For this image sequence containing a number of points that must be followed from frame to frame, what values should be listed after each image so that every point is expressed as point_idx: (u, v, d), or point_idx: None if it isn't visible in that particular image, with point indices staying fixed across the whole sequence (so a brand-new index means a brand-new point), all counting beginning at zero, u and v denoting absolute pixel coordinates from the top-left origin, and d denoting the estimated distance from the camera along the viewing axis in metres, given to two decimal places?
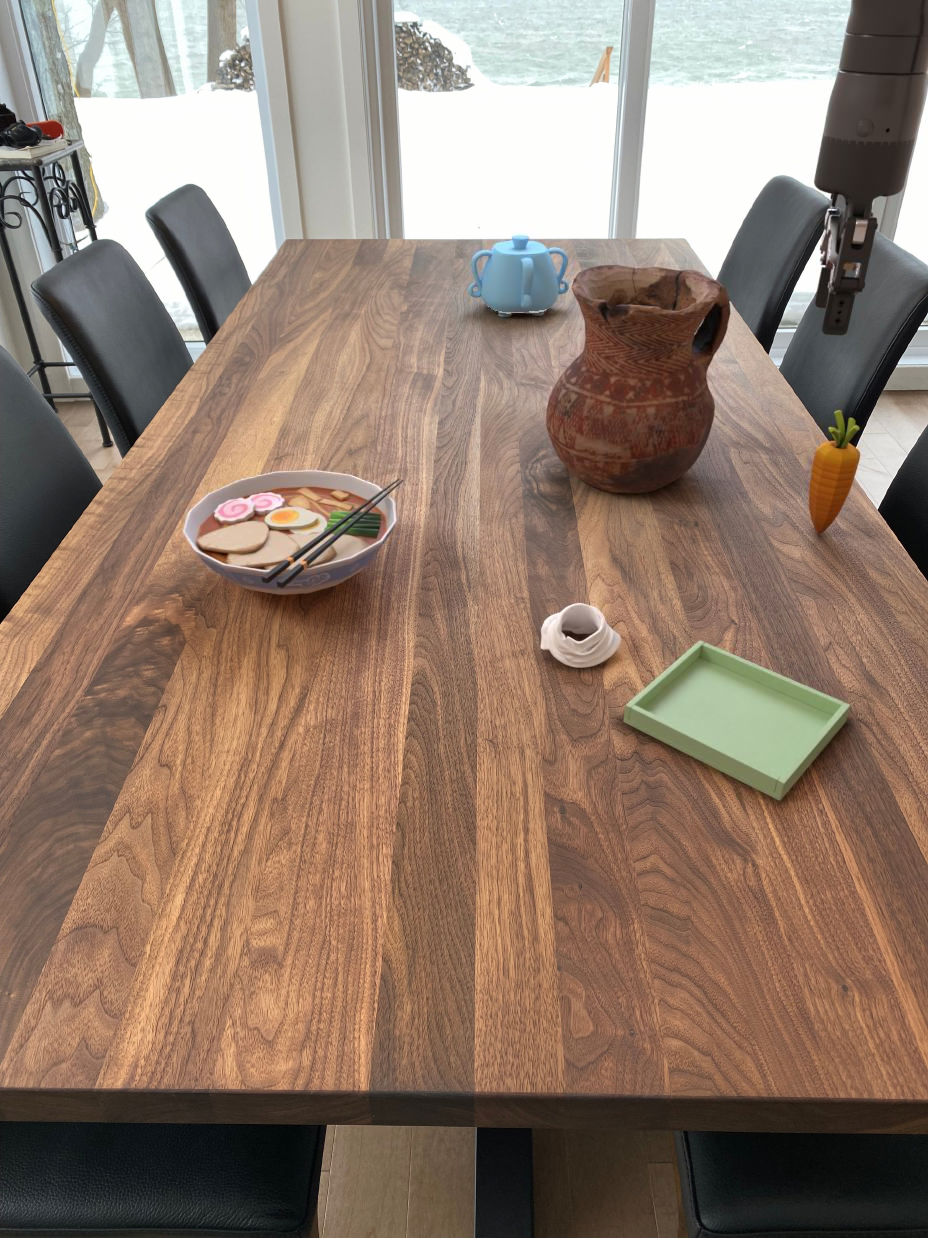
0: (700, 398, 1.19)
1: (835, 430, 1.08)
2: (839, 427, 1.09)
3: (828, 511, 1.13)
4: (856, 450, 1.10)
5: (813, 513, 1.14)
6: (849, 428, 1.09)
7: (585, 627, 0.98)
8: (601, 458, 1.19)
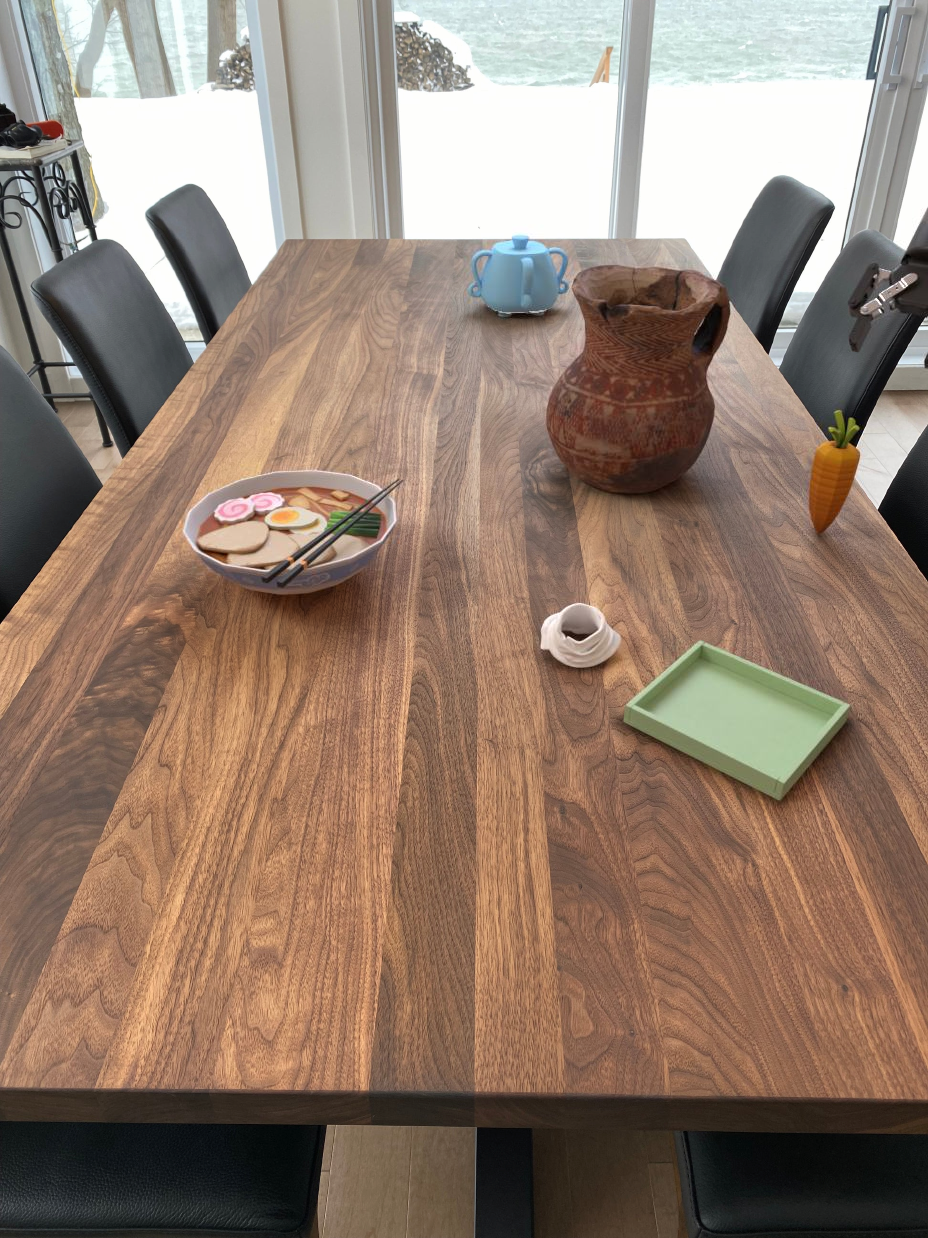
0: (700, 398, 1.19)
1: (835, 430, 1.08)
2: (839, 427, 1.09)
3: (828, 511, 1.13)
4: (856, 450, 1.10)
5: (813, 513, 1.14)
6: (849, 428, 1.09)
7: (585, 627, 0.98)
8: (601, 458, 1.19)
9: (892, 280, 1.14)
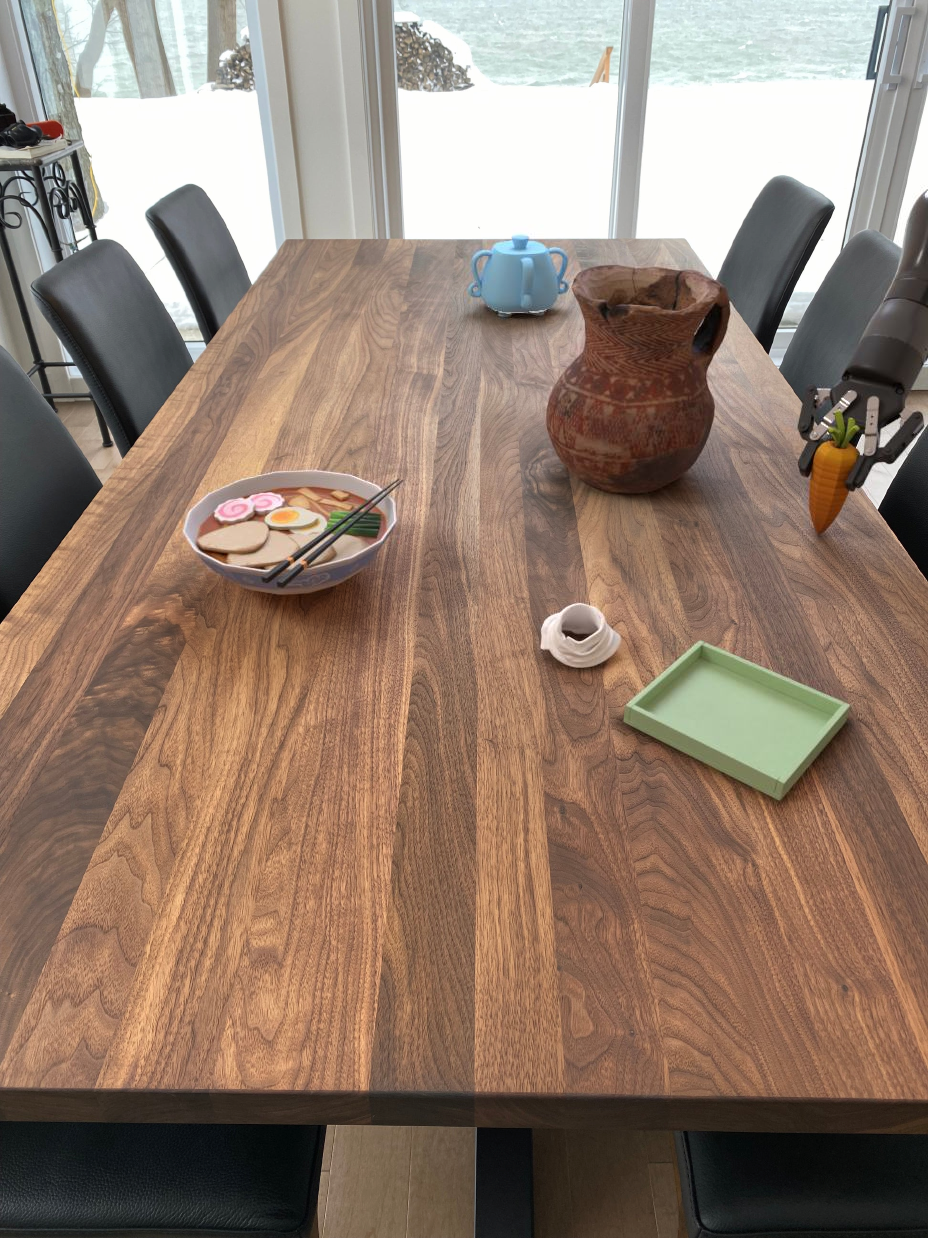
0: (700, 398, 1.19)
1: (835, 430, 1.08)
2: (839, 427, 1.09)
3: (828, 511, 1.13)
4: (856, 450, 1.10)
5: (813, 513, 1.14)
6: (849, 428, 1.09)
7: (585, 627, 0.98)
8: (601, 458, 1.19)
9: (832, 396, 1.12)
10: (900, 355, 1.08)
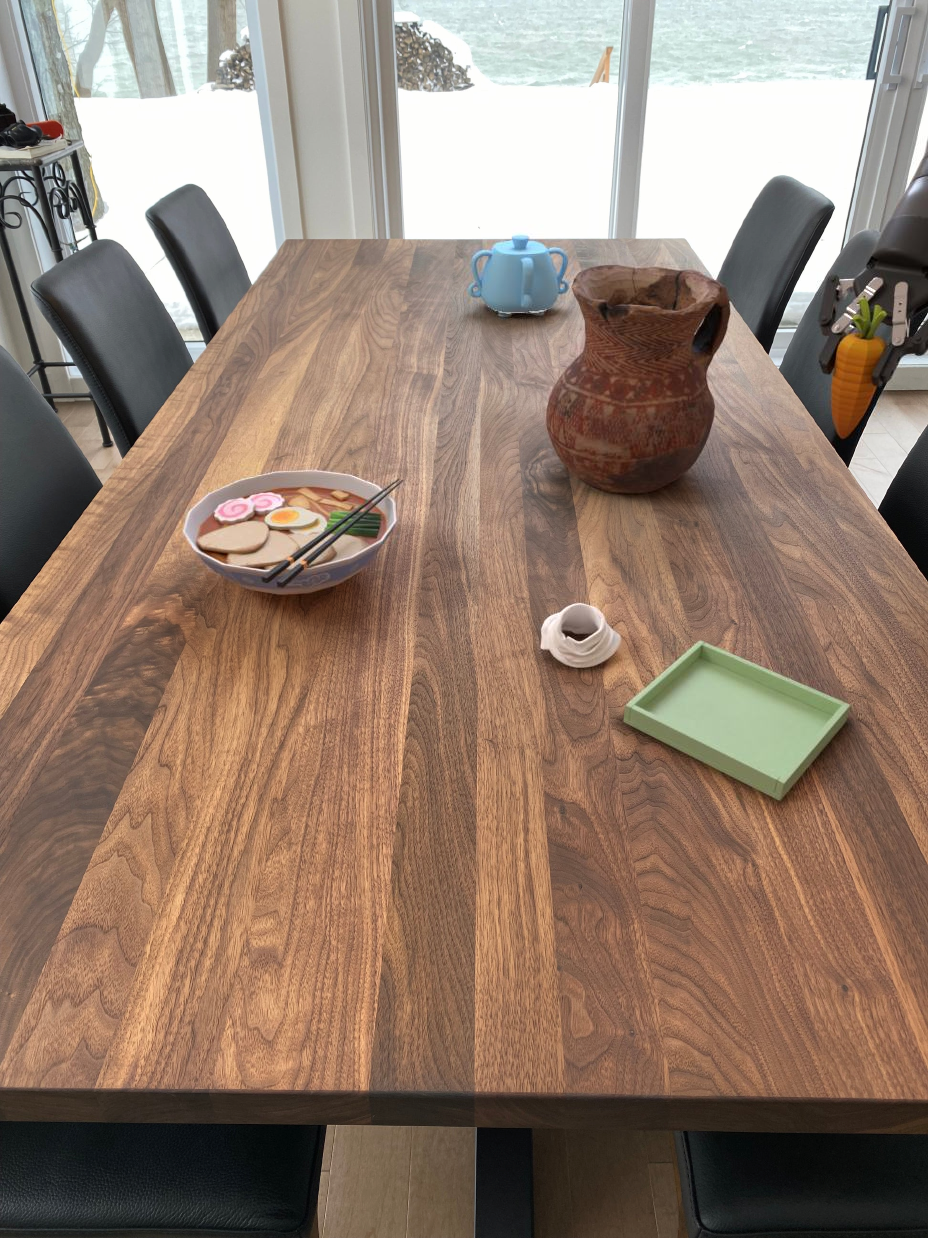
0: (700, 398, 1.19)
1: (860, 317, 0.99)
2: (864, 316, 1.01)
3: (853, 411, 1.04)
4: (883, 341, 1.01)
5: (836, 415, 1.05)
6: (875, 316, 1.00)
7: (585, 627, 0.98)
8: (601, 458, 1.19)
9: (856, 285, 1.04)
10: None
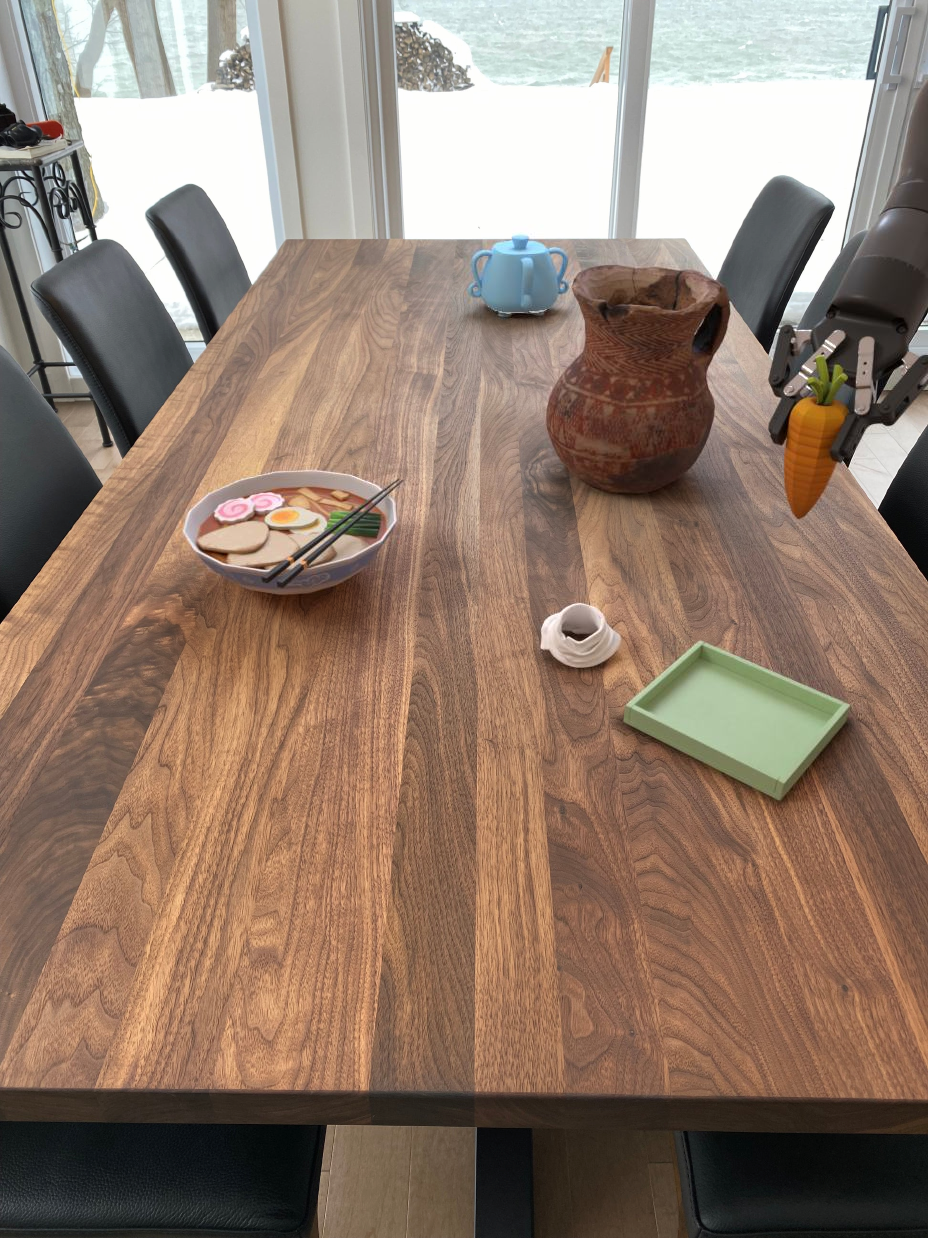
0: (700, 398, 1.19)
1: (816, 380, 0.81)
2: (822, 377, 0.83)
3: (809, 489, 0.86)
4: (844, 408, 0.83)
5: (790, 492, 0.88)
6: (835, 378, 0.82)
7: (585, 627, 0.98)
8: (601, 458, 1.19)
9: (814, 339, 0.86)
10: (902, 281, 0.81)
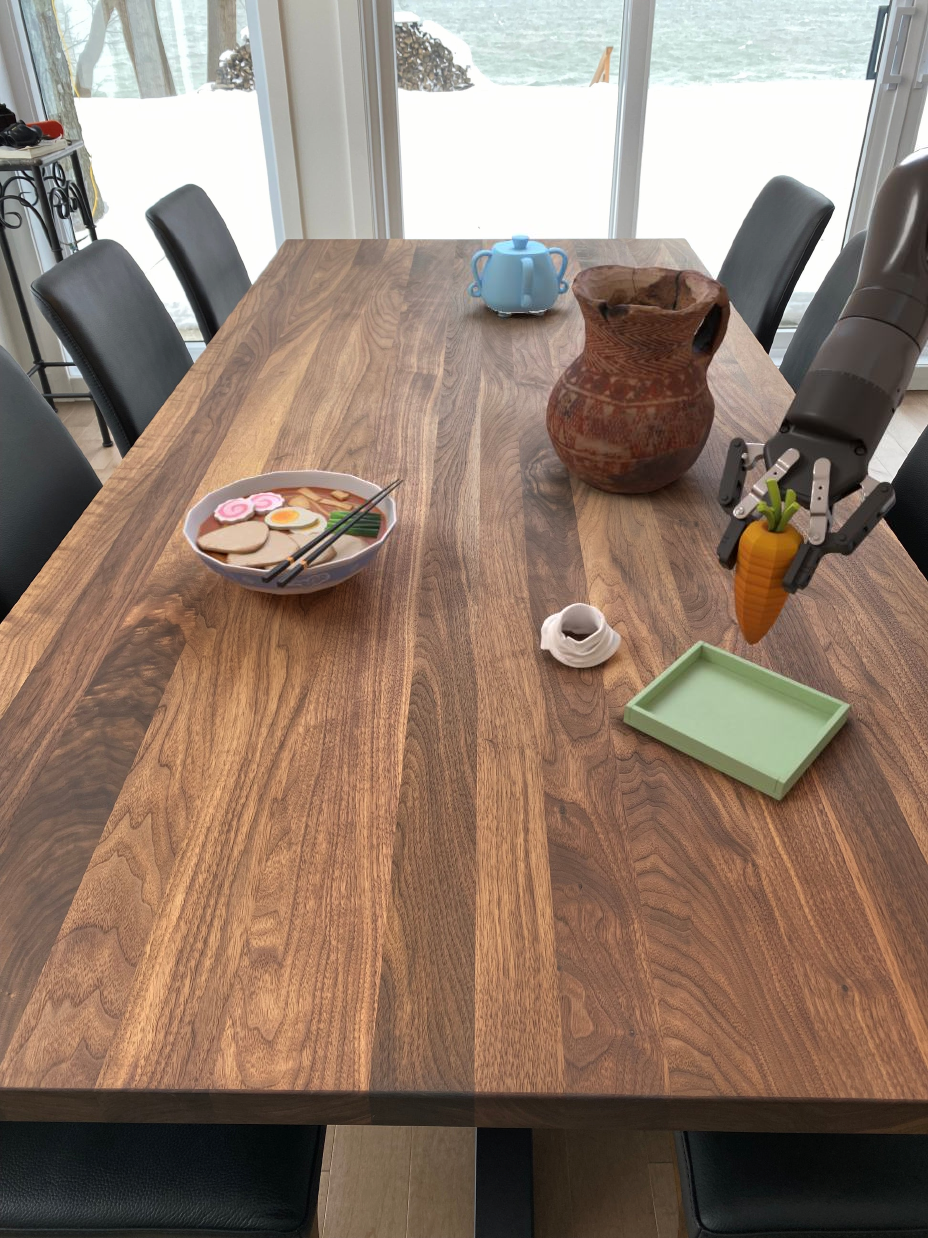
0: (700, 398, 1.19)
1: (766, 509, 0.74)
2: (773, 502, 0.76)
3: (761, 619, 0.79)
4: (798, 535, 0.76)
5: (740, 619, 0.81)
6: (787, 504, 0.75)
7: (585, 627, 0.98)
8: (601, 458, 1.19)
9: (766, 455, 0.79)
10: (860, 400, 0.75)
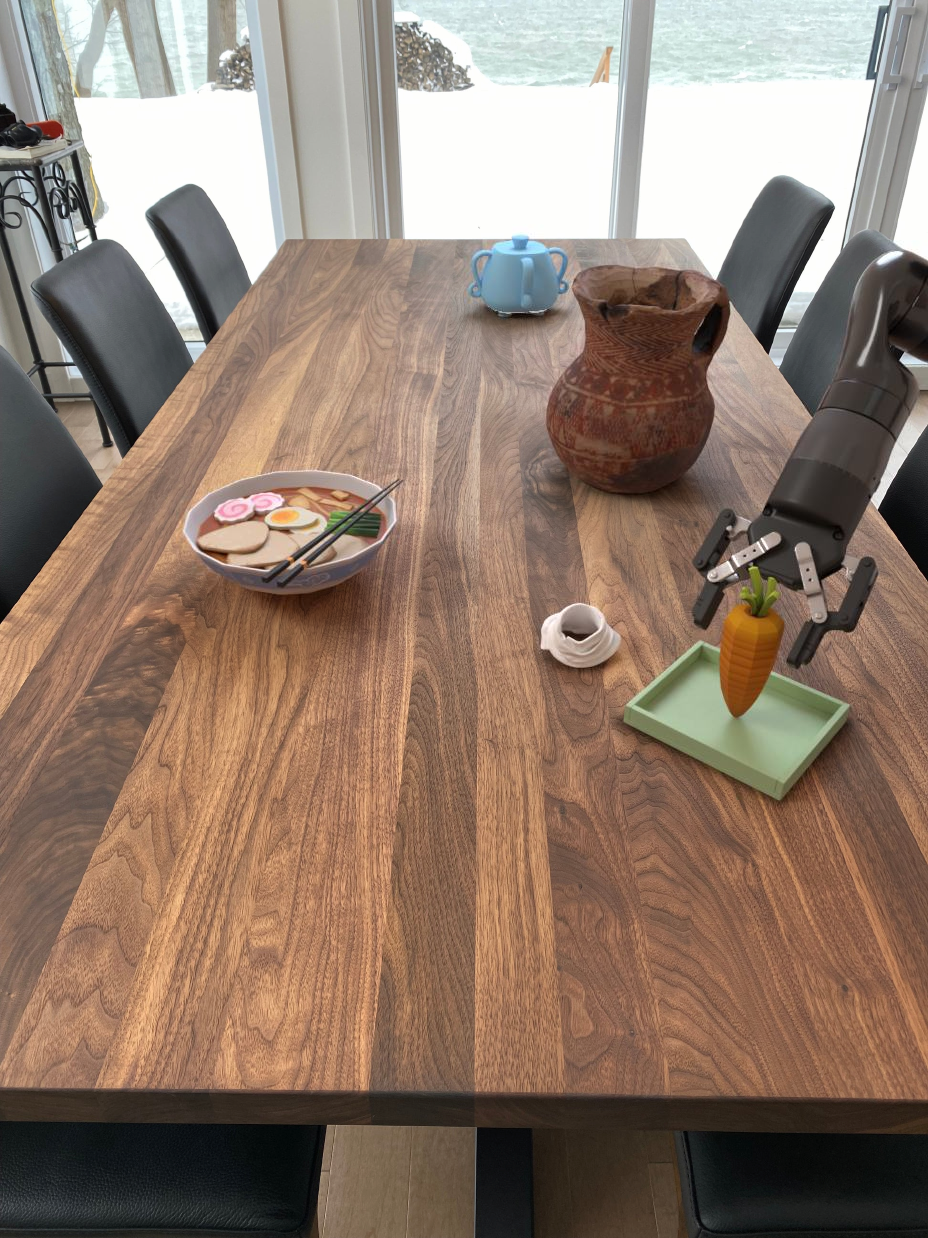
0: (700, 398, 1.19)
1: (748, 596, 0.79)
2: (755, 589, 0.81)
3: (744, 696, 0.84)
4: (779, 619, 0.81)
5: (725, 695, 0.86)
6: (768, 591, 0.80)
7: (585, 627, 0.98)
8: (601, 458, 1.19)
9: (750, 536, 0.83)
10: (838, 488, 0.79)
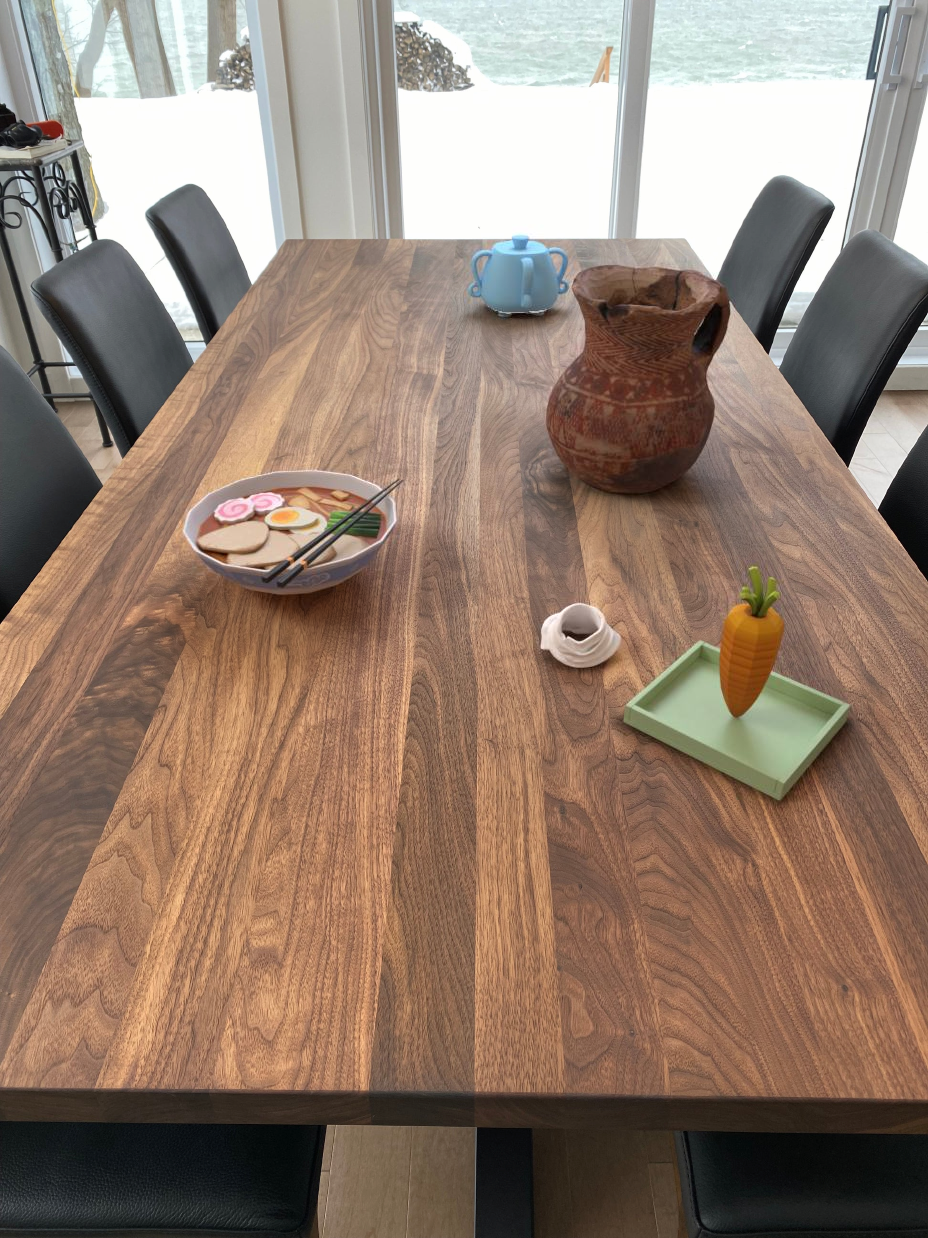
0: (700, 398, 1.19)
1: (748, 596, 0.79)
2: (755, 589, 0.81)
3: (744, 696, 0.84)
4: (779, 619, 0.81)
5: (725, 695, 0.86)
6: (768, 591, 0.80)
7: (585, 627, 0.98)
8: (601, 458, 1.19)
9: None
10: None
